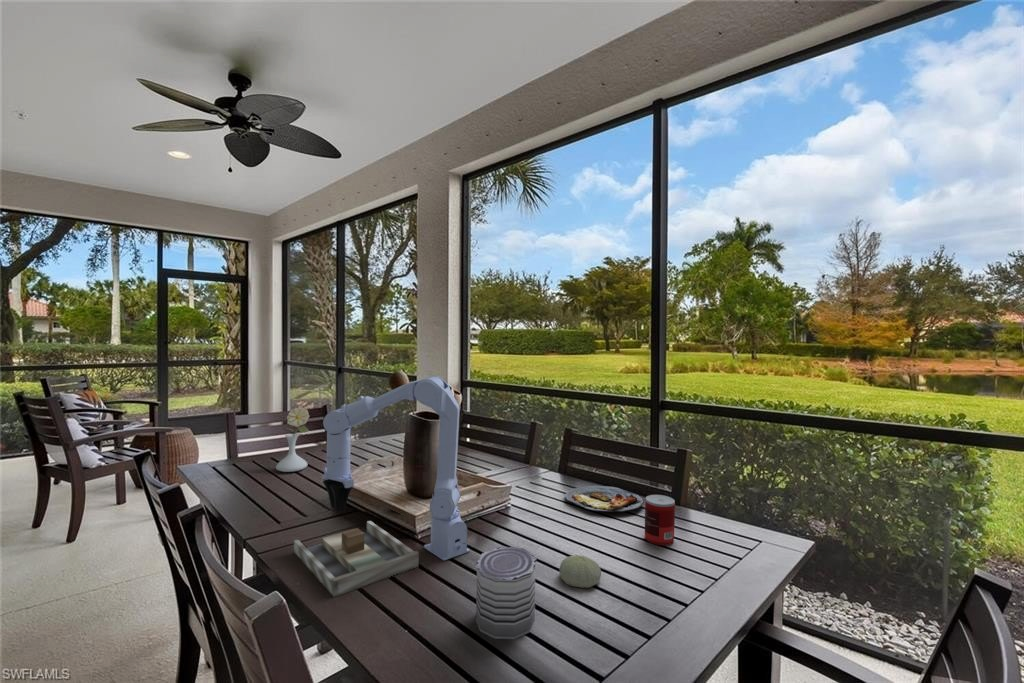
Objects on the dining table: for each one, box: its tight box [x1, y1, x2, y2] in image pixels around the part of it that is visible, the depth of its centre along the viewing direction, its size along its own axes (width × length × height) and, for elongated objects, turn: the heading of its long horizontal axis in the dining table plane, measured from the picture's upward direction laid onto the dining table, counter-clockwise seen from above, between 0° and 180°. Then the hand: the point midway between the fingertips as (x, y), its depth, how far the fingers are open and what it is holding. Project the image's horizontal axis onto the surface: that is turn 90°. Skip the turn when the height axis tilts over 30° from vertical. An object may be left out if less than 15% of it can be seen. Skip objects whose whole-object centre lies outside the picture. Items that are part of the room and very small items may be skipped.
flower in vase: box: [275, 406, 310, 473], centre depth 187 cm, size 13×11×25 cm
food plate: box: [564, 485, 645, 513], centre depth 157 cm, size 25×23×4 cm
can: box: [474, 545, 538, 640], centre depth 91 cm, size 11×11×12 cm
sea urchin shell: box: [558, 554, 602, 589], centre depth 107 cm, size 9×8×8 cm
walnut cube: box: [341, 527, 364, 554], centre depth 116 cm, size 4×4×4 cm
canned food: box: [644, 494, 676, 546], centre depth 129 cm, size 8×8×11 cm
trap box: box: [293, 520, 420, 598], centre depth 115 cm, size 26×20×3 cm
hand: (338, 508), depth 123 cm, fingers open, 2 cm apart
